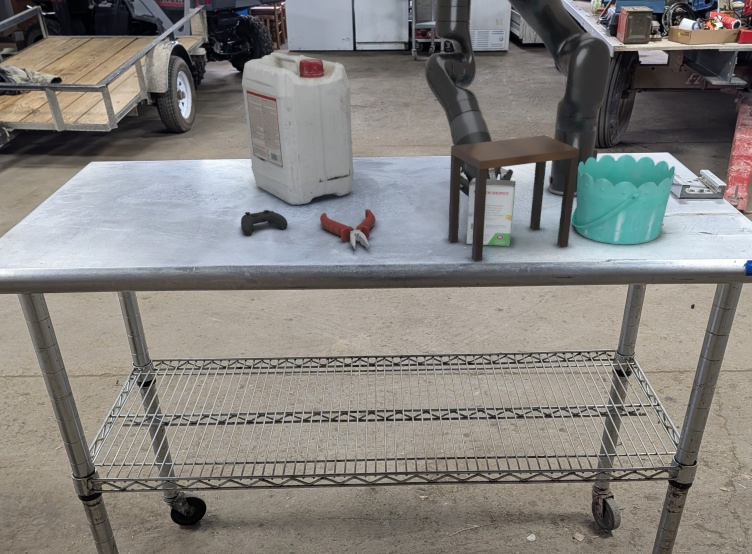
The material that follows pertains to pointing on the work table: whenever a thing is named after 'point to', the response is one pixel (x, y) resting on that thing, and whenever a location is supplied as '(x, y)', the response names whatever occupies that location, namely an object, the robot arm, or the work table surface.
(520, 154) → the small table
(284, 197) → the jerry can
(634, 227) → the basket
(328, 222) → the pliers
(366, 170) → the work table surface
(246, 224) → the gaming controller
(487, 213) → the ink box
